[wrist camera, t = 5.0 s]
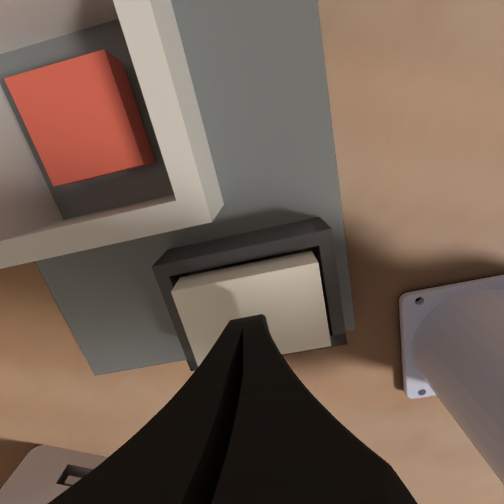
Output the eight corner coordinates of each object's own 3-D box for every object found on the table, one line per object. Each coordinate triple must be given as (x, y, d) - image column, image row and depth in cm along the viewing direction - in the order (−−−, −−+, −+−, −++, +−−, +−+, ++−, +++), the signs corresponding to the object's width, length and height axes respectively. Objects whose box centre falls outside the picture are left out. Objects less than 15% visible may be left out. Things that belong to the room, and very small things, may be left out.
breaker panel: (300, -62, 11) (335, -239, 6) (347, 315, 17) (385, 380, 12) (-48, 45, 12) (-248, -27, 7) (107, 358, 18) (52, 433, 13)
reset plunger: (122, 62, 11) (104, 49, 10) (155, 163, 12) (143, 164, 11) (33, 87, 11) (3, 78, 10) (74, 183, 13) (53, 186, 11)
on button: (311, 250, 12) (318, 262, 10) (323, 326, 13) (331, 346, 12) (180, 277, 12) (170, 291, 11) (204, 348, 14) (198, 368, 12)
